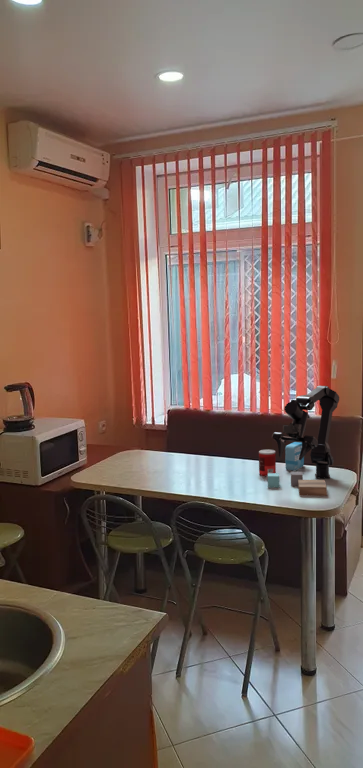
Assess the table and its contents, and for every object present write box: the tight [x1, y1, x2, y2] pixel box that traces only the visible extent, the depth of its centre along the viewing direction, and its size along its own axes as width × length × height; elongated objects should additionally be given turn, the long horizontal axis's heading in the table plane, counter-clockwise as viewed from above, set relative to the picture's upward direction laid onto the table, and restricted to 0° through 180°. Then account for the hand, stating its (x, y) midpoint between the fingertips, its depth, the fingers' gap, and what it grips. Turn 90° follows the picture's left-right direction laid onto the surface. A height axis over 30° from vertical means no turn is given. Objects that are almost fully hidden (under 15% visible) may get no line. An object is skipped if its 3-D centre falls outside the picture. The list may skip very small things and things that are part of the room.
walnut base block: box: [297, 479, 328, 497], centre depth 244 cm, size 11×11×4 cm
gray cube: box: [290, 471, 304, 487], centre depth 255 cm, size 5×5×5 cm
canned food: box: [258, 449, 277, 477], centre depth 273 cm, size 8×8×11 cm
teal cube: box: [267, 472, 280, 488], centre depth 254 cm, size 5×5×5 cm
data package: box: [284, 441, 305, 472], centre depth 282 cm, size 12×4×12 cm, turn 145°
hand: (289, 458), depth 240 cm, fingers open, 9 cm apart
